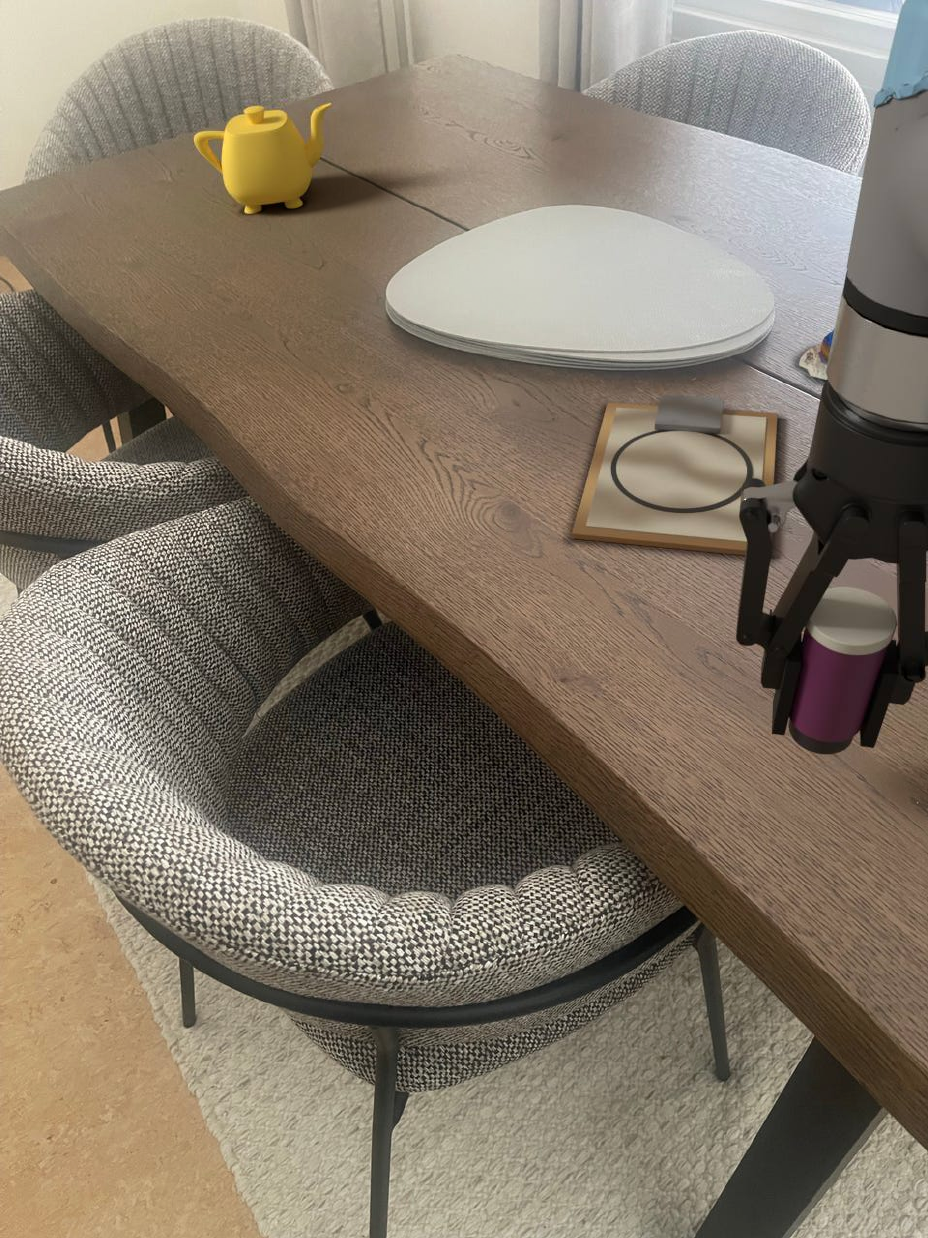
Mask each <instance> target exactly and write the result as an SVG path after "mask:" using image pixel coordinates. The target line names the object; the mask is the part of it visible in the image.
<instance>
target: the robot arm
mask: <svg viewBox="0 0 928 1238" xmlns="http://www.w3.org/2000/svg"><path fill="white" fill-rule="evenodd" d="M873 108H874V112H873V118H872V124H871V128H870V134H869V140H868V146H867V151H866V157H865V162H864V168H863V173H862V178H861V184H860V190H859V196H858V201H857V207H856V213H855V218H854V223H853V229H852V234H851V240H850V245H849V251H848V256H847V262H846V273H845V277H844V283H843V287H842V291H841V292H842V293H841V296H840V301H839V306H838V311H837V314H836V315H837V316H836V321H835V326H834V328H835V330H834V329H833V330H834V335H833V340H832V344H831V349H830V354H829V359H828V364H827V369H826V373H827V378H828V379H827V380H825V382H824V383H823V386H822V388H821V393H820V398H819V403H818V408H817V413H816V419H815V423H814V429H813V433H812V439H811V442H810V443H811V444H810V448H809V449H810V450H809V454H808V457H806V458H807V459H806V460H805V461H804V463H803V464H802V465H801V466H800V467H799V468H798V469H797V470H796V472H795V474H794V476H793V477H792V478H793V479H792V480H788V481H784V482H778V483H774V485H769V486H766V485H765V483H764V482H763V481H762V480H760V479H757V478H750V479H748V480H746V481H745V482H744V483H743V485H742V489H741V500H740V511H739V519H740V522H741V525H742V527H743V530H744V533H745V536H746V539H747V545H746V553H745V556H744V560H743V561H744V562H743V569H742V578H741V585H740V592H739V601H738V608H737V609H738V610H737V619H736V620H737V622H736V633H735V640H736V642H737V643H738V644H739V645H741V646H744V647H752V646H754V645H758V646H760V647H761V648H762V649H763V654H762V660H761V667H760V684H761V686H762V688H763V689H768V690H769V689H770V690H774V695H773V699H772V715H771V716H772V719H771V735H776V736H785V735H786V731H787V727H788V724H789V714H790V710H791V706H792V701H793V697H794V693H795V688H796V684H797V680H798V675H799V671H800V667H801V652H802V650H801V643H802V639H803V632H804V630H805V626H806V624H807V622H808V621H809V619H810V617H811V616H812V614H813V612H814V610H815V609H816V607H817V605H818V604H819V602H820V600H821V598H822V597H823V595H824V593H825V592H826V590H827V589H829V587H830V585H831V583H832V582H833V580H834V578H835V579H836V578H838V577H839V576H840V575H841V574H842V571H843V570H844V568H845V566H846V564H847V562H848V561H849V560H853V561H855V560H867V559H873V560H877V561H880V562H883V563H885V564H886V563H887V564H895V565H896V605H897V606H896V607H897V608H896V610H897V614H896V615H897V639H892V640H891V642H890V643H889V645H888V648H887V651H886V654H885V658H884V661H883V664H882V667H881V670H880V673H879V676H878V679H877V683H876V686H875V689H874V692H873V695H872V698H871V701H870V704H869V707H868V711H867V714H866V717H865V720H864V723H863V726H862V728H861V730H860V731H859V743H860V744H859V745H860V747H864V748H869V749H870V748H871V749H874V748H875V747H876V743H877V740H878V738H879V734H880V732H881V728H882V725H883V723H884V720H885V717H886V714H887V711H888V708H889V706H890V704H892V705H900V706H905V705H906V704H907V703H908V702H909V701H910V700H911V697H912V694H913V691H914V688H915V686H916V684H919V683H922V682H924V681H925V679H926V677H927V674H926V673H927V671H926V667H928V630H927V631H926V583H927V554H928V553H927V552H928V0H904V2H903V4H902V5H901V8H900V11H899V15H898V19H897V23H896V26H895V31H894V35H893V38H892V44H891V48H890V52H889V55H888V59H887V65H886V69H885V73H884V77H883V82H882V85H881V88H880V90H878V91H877V93H875V95H874V99H873ZM794 508H796V509H797V510H798V511H799V513H800V515H802V517H803V519H804V520H805V521H806V523H807V524H808V525H809V527H810V528H811V530H812V531H813V533H812V537H811V540H810V542H809V543H808V546H807V547H806V549H805V552H804V553H803V555H802V557H801V559H800V561H799V563H798V565H797V566H796V568H795V570H794V572H793V574H792V576H791V578H790V579H789V581H788V583H787V585H786V586H785V589H784V591H783V593H782V594H781V596H780V598H779V600H778V601H777V603H776V606H775V607H774V609H771V608H770V609H769V613H766V612H764V605H765V599H766V591H767V585H768V579H769V574H770V573H769V572H770V565H771V558H772V551H773V537H774V533H777V532H778V531H779V530H780V528H781V527H782V526H784V524H785V523H786V521H787V514H788V513H789V512H790V510H792V509H794Z"/></svg>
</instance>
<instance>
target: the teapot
mask: <svg viewBox="0 0 928 1238" xmlns="http://www.w3.org/2000/svg"><path fill="white" fill-rule="evenodd" d="M331 105H332V102H329V103H325V104H322V105H320V106H318V107H316V108H314V110H313V111H312V112H311V113H312V114H311V116H310V138H309V139H308V141H307V142H306V143H305V140H304V139H303V137H302V135H301V134H300V132H299V129H298V128H297V127H296V125H295V124H294V122H293V120H292V119H291V117H290V116H289V115H288V113H287V112H285V111H283V110H281V109H272V110H265V107H264V106H261V105H252V106H248V107H246V108H245V109H244V110H243V113H241V114H238V115H236V116H234V117H232V118H230V120H229V121H228V122H227V123H226V126H225V129H224V130H223V131H222V130H204V131H198V132H197V133H196V134H195V135H194V136H193V142H194V145H195V147H196V149H197V151H198V152H199V154H201V156H202V157H203V158H204V159H205V160H206V161H207V162H208V163H210V165H212V166H213V167H214V168H215V169H216V170H217V171H218V172H220V173H221V174H222V180H223V183H224V186H225V188H226V190H227V192H228V194H229V195H230V196H231V197H232V198H233V199H234V201H236V202H237V203H238V204H239V205H242V206H245V207H244V213H245V214H248V215H249V214H251V215H252V214H256V213H259V212H261V210H262V205H263V206H264V205H271V204H278V203H279V204H280V203H284V205H285V208H287V209H296V208H299V207H301V206H303V201H302V199H301V198H300V197H302V196H303V195H304V194H305V193H306V192H307V190H308V189H309V187H310V184H311V181H312V178H313V176H314V175H313V174H314V167H315V166H316V165H317V164H318V162H319V161H320V159H321V157H322V154H323V149H324V148H323V147H324V142H323V141H324V140H323V137H324V136H323V128H322V126H323V124H322V123H323V118H324V115H325V112H326V111H327V110H328V109H329V108H330V107H331ZM211 140H222V149H221V161H220V159H218V157H217V156H216V155H215V154H214V152H213V151H212V149H211V147H210V145H209V141H211Z"/></svg>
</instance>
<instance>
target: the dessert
mask: <svg viewBox="0 0 928 1238" xmlns="http://www.w3.org/2000/svg"><path fill="white" fill-rule="evenodd" d="M834 330H835V327H834V328H833V329H832V331H830V332H828V333H827V334H826V335H825V336H823V338H822V341H821V343H820V344H817V345H816V346H812V347H811V348H809V349H808V350H807V351H806V352H804V353H803V354H802V355H801V357H800V359H799V363H798V365H799V367H802V368H803V369H805V370H807V372H808V374H809V376H811V377H812V378H817V379H820V380H825V381H826V380H827V379H828V378H827V373H826V369H827V364H828V359H829V354H830V349H831V344H832V340H833V335H834Z"/></svg>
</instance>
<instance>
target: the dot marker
mask: <svg viewBox="0 0 928 1238" xmlns="http://www.w3.org/2000/svg"><path fill="white" fill-rule="evenodd" d="M897 627H898V618H897V614H896V613H895V610H894V609H893V607H892V606H891V605H890V603H888V602H887V601H886V600H884V598H882V597H880V596H878V595H877V594H875V593H873V592H871V591H869V590H865V589H862V588H858V587H852V586H851V587H850V586H838V587H831V588H827V590H826V592H825V593H824V595H823V597H822V598H821V600H820V602H819V604H818V605H817V607H816V609H815V610H814V612H813V614H812V616H811V617H810V619H809V621H808V622H807V624H806V626H805V628H804V629H803V633H802V643H801V650H802V652H801V667H800V671H799V675H798V680H797V684H796V688H795V693H794V697H793V701H792V706H791V710H790V714H789V718H788V724H787V727H788V732H789V735H790V736H791V738H792V739H793V741H794V742H795V743H796V744H797V745H798V746H800V747H801V748H803V749H805V750H806V751H808V752H811V753H813V754H819V755H824V756H825V755H836V754H838V753H841V752H843V751H845V750H846V749H847V748H848V747H850V745H851V744H852V741H853V739H854V737H856V735H858V733H860V730H861V728H862V726H863V723H864V720H865V717H866V714H867V711H868V707H869V704H870V701H871V698H872V695H873V692H874V689H875V686H876V683H877V679H878V676H879V673H880V670H881V667H882V664H883V661H884V658H885V654H886V651H887V648H888V645H889V643H890V642H891V640H893V638H894V636H895V633H896V630H897Z"/></svg>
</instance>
